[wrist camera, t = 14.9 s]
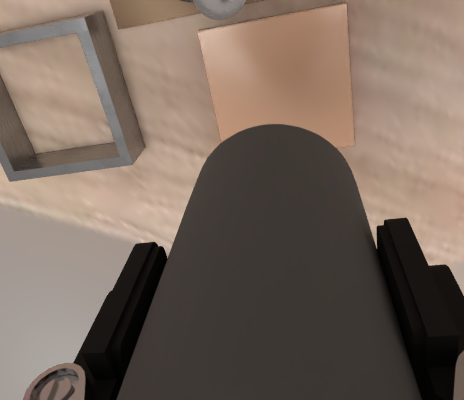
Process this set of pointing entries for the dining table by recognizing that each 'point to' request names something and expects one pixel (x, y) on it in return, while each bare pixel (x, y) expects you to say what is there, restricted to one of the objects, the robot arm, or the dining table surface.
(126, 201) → the dining table surface
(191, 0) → the handwheel
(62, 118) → the dining table surface
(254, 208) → the bottle
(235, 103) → the pad
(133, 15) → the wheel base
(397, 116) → the dining table surface
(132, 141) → the collar
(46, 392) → the robot arm
